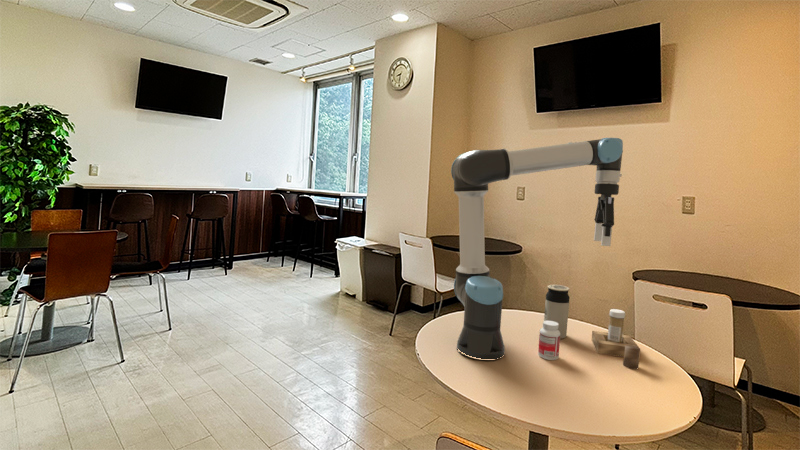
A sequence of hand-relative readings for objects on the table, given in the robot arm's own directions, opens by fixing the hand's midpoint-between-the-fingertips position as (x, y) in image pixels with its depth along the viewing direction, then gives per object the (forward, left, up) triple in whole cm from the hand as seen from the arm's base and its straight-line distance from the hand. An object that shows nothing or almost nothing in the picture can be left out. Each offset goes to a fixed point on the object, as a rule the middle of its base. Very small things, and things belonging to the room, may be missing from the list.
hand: (601, 243), depth 142 cm
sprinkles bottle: (+5, -9, -35) cm, 36 cm away
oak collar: (+5, -9, -35) cm, 36 cm away
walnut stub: (+7, -22, -35) cm, 42 cm away
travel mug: (-13, -3, -35) cm, 37 cm away
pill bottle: (-17, -24, -35) cm, 46 cm away
